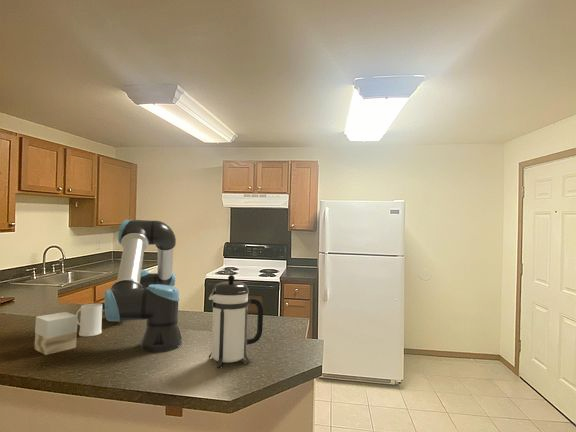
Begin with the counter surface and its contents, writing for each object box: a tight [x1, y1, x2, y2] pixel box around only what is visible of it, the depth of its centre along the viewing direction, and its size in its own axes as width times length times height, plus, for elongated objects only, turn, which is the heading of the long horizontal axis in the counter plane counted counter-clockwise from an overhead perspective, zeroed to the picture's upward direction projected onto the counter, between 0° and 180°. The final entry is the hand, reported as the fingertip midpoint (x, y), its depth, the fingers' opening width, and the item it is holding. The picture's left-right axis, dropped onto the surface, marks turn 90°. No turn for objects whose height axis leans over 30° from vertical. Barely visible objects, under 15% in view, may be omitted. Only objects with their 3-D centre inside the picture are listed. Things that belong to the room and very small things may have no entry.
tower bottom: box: [33, 331, 78, 356], centre depth 126 cm, size 10×10×6 cm
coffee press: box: [208, 274, 264, 369], centre depth 119 cm, size 17×16×30 cm
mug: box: [75, 303, 103, 337], centre depth 145 cm, size 12×8×12 cm
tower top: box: [34, 311, 79, 338], centre depth 126 cm, size 10×10×6 cm
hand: (102, 311), depth 154 cm, fingers open, 13 cm apart
